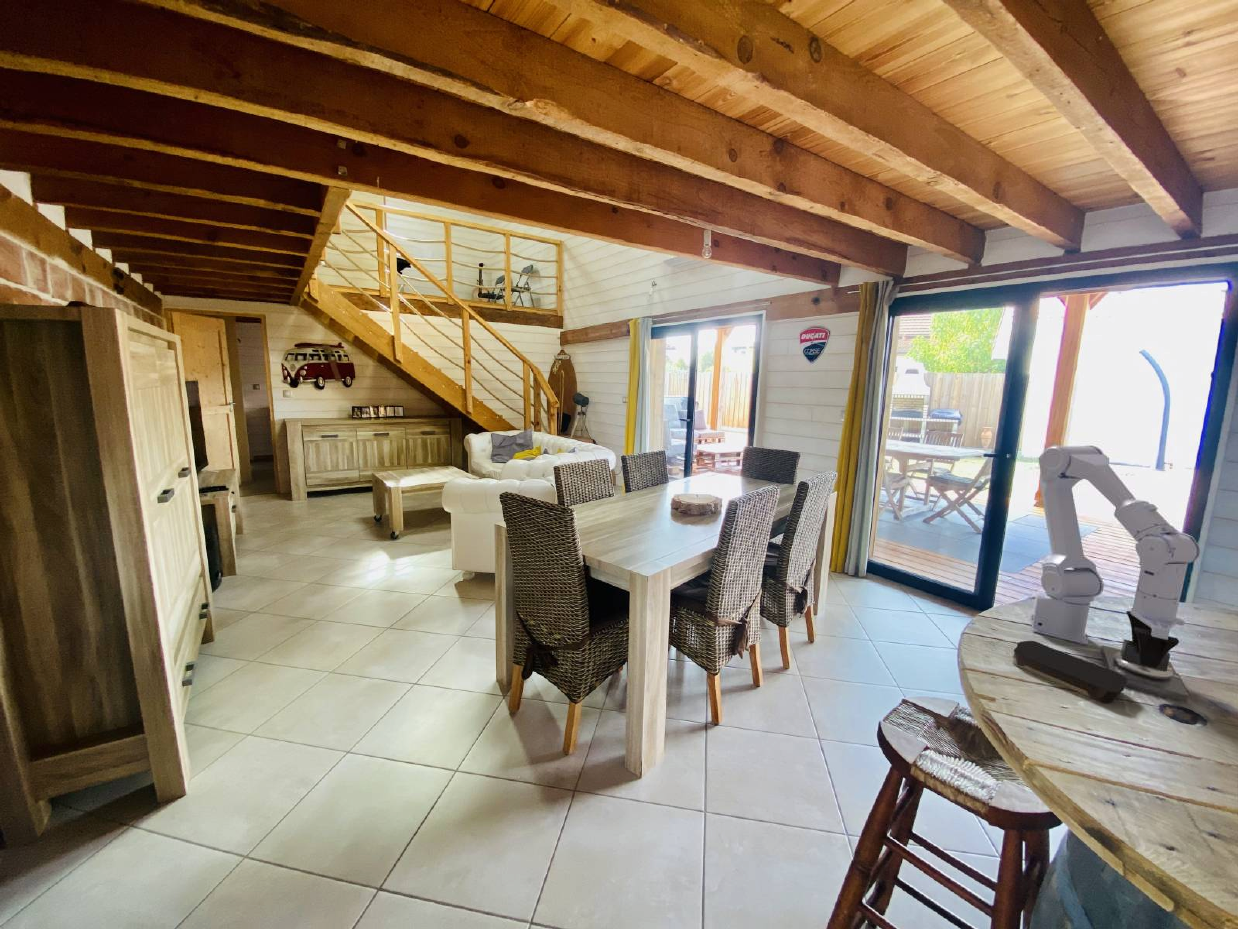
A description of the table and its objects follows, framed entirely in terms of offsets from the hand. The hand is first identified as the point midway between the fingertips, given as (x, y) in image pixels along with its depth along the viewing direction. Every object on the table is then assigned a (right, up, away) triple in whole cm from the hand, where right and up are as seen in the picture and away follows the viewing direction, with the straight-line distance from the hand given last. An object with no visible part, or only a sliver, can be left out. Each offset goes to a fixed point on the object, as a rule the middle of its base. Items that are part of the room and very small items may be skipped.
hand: (1144, 657), depth 96 cm
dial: (0, -2, 0) cm, 2 cm away
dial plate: (0, -4, +1) cm, 4 cm away
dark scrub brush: (-16, -5, 0) cm, 17 cm away
